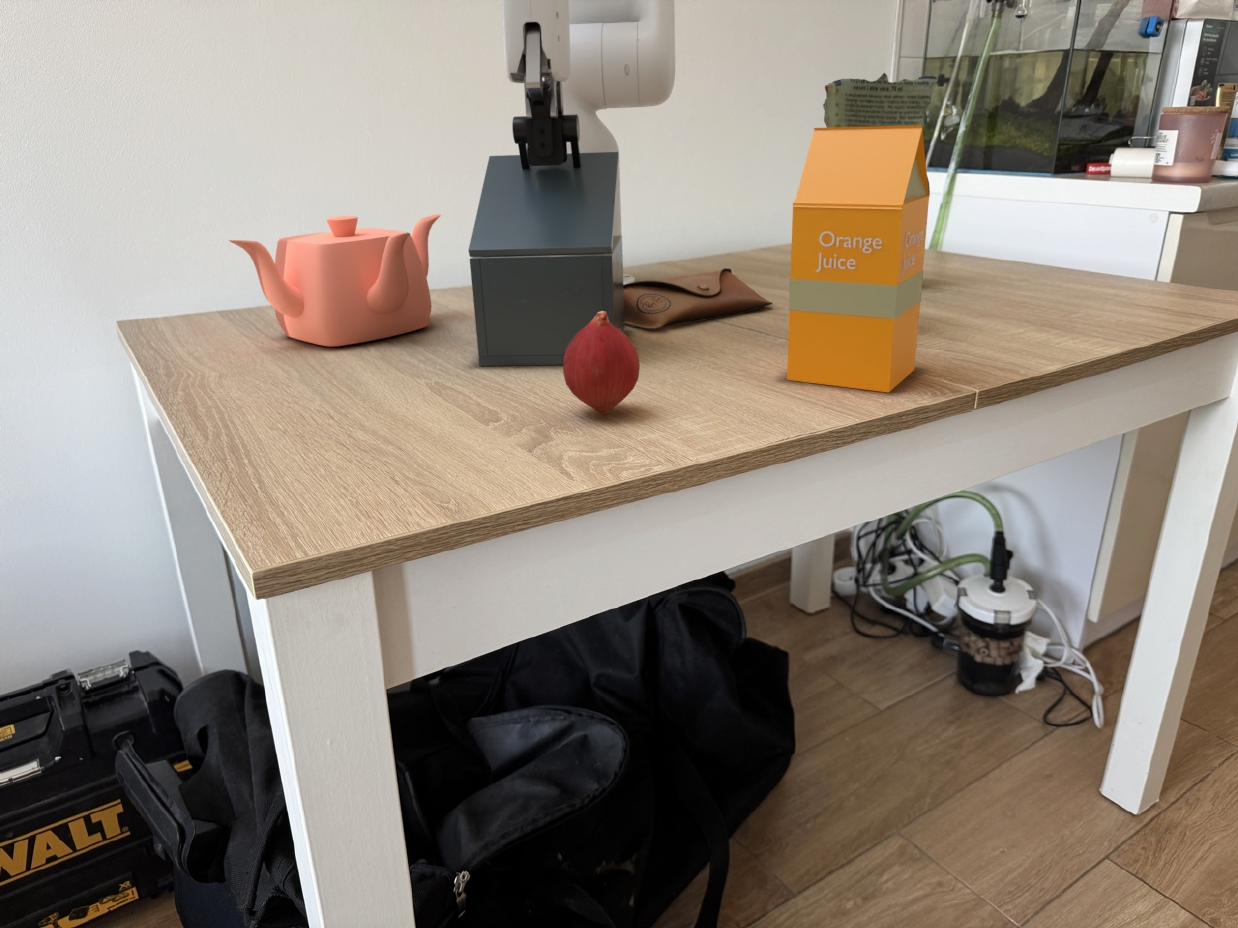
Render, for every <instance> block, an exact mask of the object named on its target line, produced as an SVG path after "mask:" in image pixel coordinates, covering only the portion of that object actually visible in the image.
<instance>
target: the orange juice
mask: <svg viewBox="0 0 1238 928" xmlns="http://www.w3.org/2000/svg"><path fill="white" fill-rule="evenodd" d="M806 155H807V156H806V157H805V158H806V159H805V162H804V166H803V169H802V174H801V177H800V181H799V185H798V189H797V191H796V196H795V198H794V202H792V227H791V251H790V253H791V254H790V278H789V292H788V293H789V294H788V312H789V314H788V337H787V338H788V339H787V340H788V342H787V369H786V371H787V372H786V380H787V381H794V382H802V383H811V384H818V385H827V386H832V387H833V386H834V387H840V388H841V387H842V388H849V389H858V390H866V391H873V392H882V393H890V392H891V391H892V390H894V389H895V388H896V387H897V386H898V385H899V384H900V383H902V382H903V381H904V380H905V379H906V378H907V377H908V376H909V375H911V374H912V373H913V372H914V371H915V368H916V367H915V366H916V355H917V345H918V343H917V342H918V330H919V319H920V309H921V301H922V292H923V279H924V261H925V250H926V238H927V226H928V215H929V204H930V197H929V192H928V181H927V177H928V173H927V163H926V151H925V142H924V129H922V125H920V126H876V127H833V128H827V127H814V128H813V133H812V136H811V141H810V143H809V148H808V151H807V154H806Z"/></svg>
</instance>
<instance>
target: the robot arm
mask: <svg viewBox="0 0 1238 928" xmlns="http://www.w3.org/2000/svg"><path fill="white" fill-rule="evenodd" d="M501 4H502V5H501V7H502V11H501V13H502V35H503V37H502V38H503V62H504V64H503V65H504V66H503V67H504V75H505V78H506V79H507V80H508V81H509V82H510V83H514V84H523V88H524V90H523V91H524V105H525V116H526V118H527V120H525V121H526V136H527V151H528V163H529V165H531V166H552V165H561V164H562V163H564V162H566V161H567V154H568V153H572V151H571V143H570V142H562V130H561V119H557V115H575V114H577V115H578V117H579V126H580V139H579V150H580V153H599V152H618V154H619V155H620V150H619V146H618V143H617V140H616V138H615V136H614V134H613V133H612V132H611V130H610V129H609V128H608V127H607V126H606V125H605V123H603V121H602V120H601V119H600V118H599V116H598V115H597V111H599V110H600V111H601V110H607V109H627V108H628V109H629V108H648V107H649V108H650V107H656V106H660V105H662V104H664V103H666V101H668V100H669V99H670V97H671V95H672V93H673V90H674V86H675V80H676V25H675V22H676V21H675V19H676V18H675V0H501ZM620 177H621V176H620V162H619V163H618V177H617V191H616V205H615V219H614V233H613V236H622V237H623V235H622V206H621V178H620ZM633 282H636V279H635V276H633V275H631V274H628V273H623V285H625V284H629V283H633Z"/></svg>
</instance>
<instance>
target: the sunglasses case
mask: <svg viewBox="0 0 1238 928" xmlns="http://www.w3.org/2000/svg"><path fill="white" fill-rule="evenodd" d="M623 286H624V318H625V326H629V327H633V328H637V329H642V330H643V329H644V330H659V329H663V328H668V327H671V326H675V325H681V324H688V323H695V322H699V321H706V320H712V319H716V318H724V317H730V316H736V315H740V314H744V313H745V314H746V313H749V312H751V311H755V310H759V309H762V308H765V307H767V306H770V305H774V304H773V302H772V301H769V300H768V299H766V298H765V297H763V296H761V294H759V293H758V292H757V291H755V290H754V289H752V288H751V287H750V286H748V285H747V284H746V283H745V282H743V281H742V280H741V279H740V278H739V277H737V276H736V275H735V274H733V272H732V268H727V267H724V268H722V269H719V270H716V271H711V272H705V273H696V274H690V275H682V276H675V277H671V278H670V277H669V278H665V279H659V280H639V281H635V282H633V283H629V284H625V285H623Z"/></svg>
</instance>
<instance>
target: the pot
mask: <svg viewBox="0 0 1238 928" xmlns="http://www.w3.org/2000/svg"><path fill="white" fill-rule="evenodd" d="M441 216H442V214H438V213H437V214H432V215H429V216H426V217H422V218H421V219H419V220H418V221H417V222H416V224H415V225H414V227H413V230H412V233H411V232H408V231H403V230H394V229H384V228H372V227H360V228H359V227H358V228H357V225H358V219H359V217H358V216H356V215H336V216H334V215H333V216H330V217H327V218H325V219H326V223H327V225H328V227H329V229H330V231H323V232H314V233H307V234H299V235H293V236H287V237H282V238H279V239H278V240H277V243H276V249H275V257H274V259H273V257H272V255H271V253H270V251H269V250H268V249H267V248H266V246H264V245H263V244H262V243H261V242H260V241H256V240H240V239H228V242H230V243H232V244H234V245H236V246H237V247H239V248H241V249H243V250H244V251H245V252H246V254H248V256H249V257H250V259H251V260H252V262H253V265H254V268H255V270H256V273H257V276H258V279H259V280H258V281H259V285H260V287H261V290H262V292H263V295H264V297H265V299H266V300H267V301H268V303H269V304H270V306H272V307H273V309H274V314H275V318H276V320H277V322H278V324H279V326H280V328H281V329H282V331H283V333H284V335H285V336H286V337H289V338H292V339H295V340H299V341H302V342H306V343H308V344H310V343H311V344H313V345H319V346H324V347H341V346H342V347H343V346H348V345H354V344H359V343H366V342H372V341H376V340H381V339H386V338H390V337H394V336H399V335H402V334H406V333H410V332H413V331H417V330H421V329H423V328H426V327H427V326H428V324H429V322H430V318H431V314H432V297H431V292H430V287H429V283H428V274H429V267H430V266H429V265H430V264H429V263H430V261H429V236H430V232H431V230H432V227H433V225H434V224H435V223H436V222H437V220H438V219H439V218H440V217H441Z"/></svg>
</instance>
